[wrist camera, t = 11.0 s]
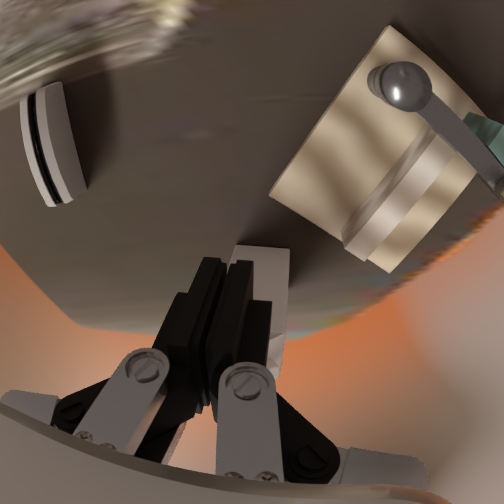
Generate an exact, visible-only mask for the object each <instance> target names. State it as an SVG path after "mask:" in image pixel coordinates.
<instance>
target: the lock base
mask: <svg viewBox="0 0 504 504" xmlns="http://www.w3.org/2000/svg"><path fill="white" fill-rule="evenodd" d="M399 61H408V62H413V63H415V64H417V65H419V66H420V67H422V68H423V69H424V70H425V71H426V73H427V74H428V76H429V78H430V80H431V84H432V92H433V93H434V94H436V95H437V96H438V97H439V98H440V99H441V100H442V101H443V102H444V103H445V104H446V105H447V106H448V107H449V108H450V109H451V110H452V111H453V112H454V113H455V114H456V115H457V116H458V117H459V118H460V119H461V120H462V121H463V122H464V123H465V124H466V125H467V126H468V127H469V128H470V129H471V131H472V132H473V133H474V134H475V135H476V136H477V137H478V138H479V139H480V141H481V142H482V143H483V144H484V145H485V146H486V147H487V149H488V150H489V151H490V152H491V153H492V155H493V156H494V157H495V158H496V159H497V161H498V162H499V163H500V164H501V166H502V167H503V168H504V125H503V124H501V123H498V122H496V121H493V120H491V119H488V118H487V117H486V116H485V114H484V113H483V112H482V111H481V110H480V109H479V108H478V106H477V105H476V104H475V103H474V102H473V101H472V100H471V99H470V98H469V96H468V95H467V94H466V93H465V92H464V91H463V90H462V89H461V88H460V87H459V86H458V85H457V84H456V83H455V82H454V81H453V80H452V79H451V78H450V77H449V76H448V75H447V74H446V73H445V72H444V71H443V70H442V69H441V68H440V67H439V66H438V65H437V64H436V63H434V62H433V61H432V60H431V59H430V58H429V57H428V56H427V55H426V54H424V53H423V52H422V51H421V50H420V49H419V48H417V47H416V46H415V45H414V44H413V43H411V42H410V41H409V40H408V39H407V38H405V37H404V36H403V35H402V34H400V33H399V32H398V31H397V30H395V29H394V28H393V27H391V26H390V25H389V26H387V27H385V29H384V30H383V31H382V33H381V34H380V35H379V37H378V38H377V40H376V41H375V42H374V44H373V45H372V46H371V48H370V49H369V51H368V52H367V53H366V55H365V56H364V57H363V59H362V60H361V62H360V63H359V64H358V66H357V67H356V69H355V70H354V71H353V73H352V74H351V75H350V77H349V78H348V80H347V81H346V82H345V84H344V85H343V87H342V88H341V89H340V91H339V92H338V94H337V95H336V96H335V98H334V99H333V101H332V102H331V104H330V105H329V106H328V108H327V109H326V111H325V112H324V113H323V115H322V116H321V118H320V119H319V121H318V122H317V123H316V125H315V126H314V128H313V129H312V130H311V132H310V133H309V135H308V136H307V138H306V139H305V141H304V142H303V143H302V145H301V146H300V148H299V149H298V151H297V152H296V153H295V155H294V156H293V158H292V159H291V161H290V162H289V164H288V165H287V166H286V168H285V169H284V171H283V172H282V174H281V175H280V177H279V178H278V180H277V181H276V182H275V184H274V185H273V187H272V188H271V190H270V192H269V196H271V197H272V198H274V199H276V200H277V201H279V202H280V203H282V204H284V205H285V206H287V207H289V208H290V209H292V210H293V211H295V212H297V213H298V214H300V215H301V216H303V217H305V218H306V219H308V220H309V221H311V222H312V223H314V224H316V225H317V226H319V227H320V228H322V229H323V230H325V231H327V232H328V233H330V234H331V235H333V236H334V237H336V238H337V239H339V240H340V241H342V242H343V245H344V249H346V250H347V251H349V252H351V253H352V254H354V255H355V256H357V257H358V258H360V259H361V260H363V261H365V260H366V259H367V258H368V259H369V260H370V261H372V262H373V263H375V264H376V265H378V266H379V267H381V268H382V269H384V270H385V271H387V272H388V273H390V272H391V271H392V270H393V269H394V268H395V267H396V266H397V265H398V264H399V263H400V262H401V261H402V260H403V259H404V258H405V257H406V256H407V254H408V253H409V252H410V251H411V250H412V249H413V248H414V247H415V246H416V245H417V244H418V242H419V241H420V240H421V239H422V238H423V237H424V236H425V235H426V234H427V232H428V231H429V230H430V229H431V228H432V227H433V226H434V224H435V223H436V222H437V221H438V220H439V219H440V217H441V216H442V215H443V214H444V213H445V212H446V210H447V209H448V208H449V207H450V206H451V204H452V203H453V202H454V201H455V200H456V198H457V197H458V196H459V195H460V193H461V192H462V191H463V190H464V188H465V187H466V186H467V185H468V183H469V182H470V181H471V180H472V178H473V177H474V176H475V174H476V173H475V172H474V171H473V170H472V169H471V168H470V167H469V166H468V165H467V164H466V162H465V161H464V160H463V159H462V158H461V157H460V156H459V155H458V154H457V153H456V152H455V151H454V150H453V149H452V148H451V147H450V146H449V145H448V144H447V143H446V142H445V141H444V140H443V139H442V138H441V137H440V136H439V135H437V134H436V133H435V132H434V131H433V130H432V129H431V128H430V127H429V126H428V125H427V124H425V123H424V122H423V121H422V120H421V119H420V118H419V117H418V116H416V115H415V114H414V113H413V112H405V111H402V110H399V109H397V108H394V107H392V106H390V105H388V104H386V103H385V102H384V101H383V100H382V99H381V98H380V97H379V95H378V93H377V91H376V88H375V77H376V74H377V72H378V70H379V69H380V68H381V67H382V66H383V65H385V64H387V63H389V62H399Z"/></svg>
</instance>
